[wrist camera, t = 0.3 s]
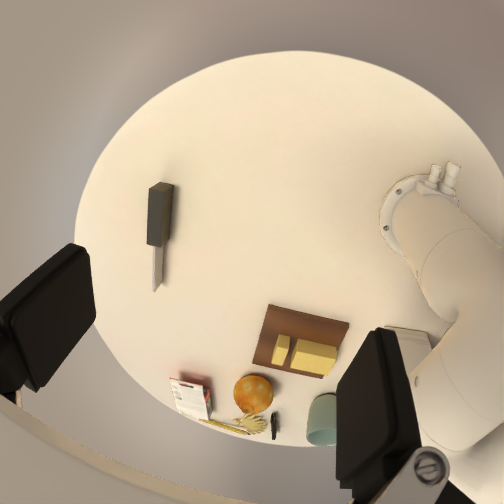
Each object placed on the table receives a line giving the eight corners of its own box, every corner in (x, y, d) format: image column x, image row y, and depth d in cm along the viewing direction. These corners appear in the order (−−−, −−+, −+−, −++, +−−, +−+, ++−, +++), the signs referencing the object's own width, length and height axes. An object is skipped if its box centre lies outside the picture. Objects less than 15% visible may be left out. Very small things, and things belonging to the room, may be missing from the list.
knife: (159, 182, 45) (148, 188, 42) (173, 184, 45) (163, 191, 42) (155, 280, 54) (146, 290, 51) (167, 283, 53) (159, 294, 50)
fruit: (221, 383, 60) (230, 418, 55) (247, 366, 57) (259, 404, 52) (248, 386, 65) (258, 418, 60) (275, 370, 62) (287, 404, 57)
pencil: (252, 432, 69) (251, 434, 69) (200, 415, 72) (200, 418, 73) (251, 434, 68) (250, 437, 68) (198, 418, 71) (198, 420, 72)
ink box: (182, 403, 71) (174, 366, 64) (213, 410, 70) (208, 374, 63) (177, 414, 68) (168, 378, 61) (208, 422, 66) (203, 386, 60)
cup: (303, 395, 61) (299, 434, 52) (336, 385, 58) (336, 425, 49) (318, 412, 63) (316, 449, 55) (350, 403, 60) (351, 441, 52)
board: (268, 304, 51) (267, 308, 50) (348, 322, 50) (348, 327, 49) (253, 359, 58) (252, 363, 57) (322, 374, 57) (322, 379, 56)
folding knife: (277, 431, 69) (275, 440, 67) (272, 431, 70) (270, 440, 67) (276, 411, 65) (274, 421, 62) (270, 410, 65) (268, 421, 63)
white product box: (384, 324, 49) (397, 392, 36) (426, 331, 49) (447, 394, 35) (366, 360, 54) (372, 425, 41) (406, 365, 53) (419, 427, 40)
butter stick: (298, 338, 52) (296, 351, 49) (336, 346, 52) (336, 359, 49) (291, 355, 54) (290, 367, 52) (328, 362, 54) (328, 375, 51)
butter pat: (279, 333, 53) (277, 346, 50) (290, 336, 52) (288, 349, 50) (273, 350, 55) (271, 363, 52) (284, 353, 55) (282, 366, 52)
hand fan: (234, 435, 71) (236, 430, 73) (267, 441, 69) (268, 435, 70) (228, 411, 66) (230, 405, 68) (264, 417, 64) (266, 411, 65)
